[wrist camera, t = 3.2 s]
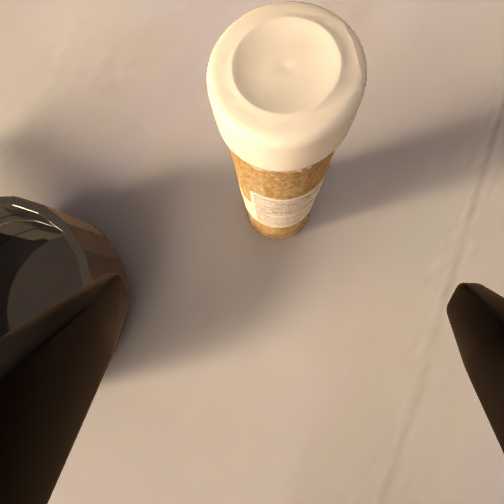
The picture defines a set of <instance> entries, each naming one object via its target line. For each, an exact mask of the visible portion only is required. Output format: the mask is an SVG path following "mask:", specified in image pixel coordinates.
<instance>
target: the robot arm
mask: <svg viewBox="0 0 504 504" xmlns="http://www.w3.org/2000/svg"><path fill="white" fill-rule="evenodd" d="M129 302H130V295H129V292H128V290H127V287H126V284H125V282H124V279H123V277H122V276H121V275H120V274H104V275H102V276H100V277H99V278H97V279H95V280H94V281H92V282H90V283H89V284H87V285H86V286H84V287H82V288H81V289H79V290H77V291H76V292H74V293H72V294H71V295H69V296H68V297H66V298H64V299H63V300H61V301H59V302H58V303H56V304H54V305H53V306H51V307H49V308H48V309H46V310H45V311H43V312H41V313H40V314H38V315H36V316H35V317H33V318H31V319H30V320H28V321H27V322H25V323H23V324H22V325H20V326H18V327H17V328H15V329H13V330H12V331H10V332H9V333H7V334H5V335H4V336H2V337H0V504H47V503H48V501H49V499H50V496H51V494H52V492H53V490H54V487H55V485H56V483H57V480H58V478H59V476H60V474H61V471H62V469H63V467H64V465H65V462H66V460H67V458H68V455H69V453H70V451H71V449H72V446H73V444H74V442H75V439H76V437H77V435H78V433H79V430H80V428H81V426H82V423H83V421H84V419H85V417H86V414H87V412H88V410H89V407H90V405H91V403H92V401H93V398H94V396H95V394H96V392H97V389H98V387H99V385H100V382H101V380H102V378H103V376H104V373H105V371H106V369H107V366H108V364H109V362H110V360H111V357H112V355H113V352H114V350H115V347H116V344H117V341H118V338H119V334H120V331H121V328H122V325H123V322H124V318H125V315H126V312H127V309H128V306H129ZM447 315H448V318H449V321H450V324H451V327H452V330H453V333H454V336H455V339H456V342H457V345H458V348H459V351H460V354H461V358H462V360H463V363H464V366H465V369H466V371H467V373H468V376H469V378H470V380H471V382H472V385H473V387H474V389H475V391H476V393H477V396H478V398H479V400H480V402H481V404H482V407H483V409H484V411H485V413H486V415H487V418H488V420H489V422H490V424H491V426H492V429H493V431H494V433H495V435H496V437H497V440H498V442H499V444H500V446H501V448H502V451H503V453H504V298H503V297H502V296H500V295H498V294H497V293H495V292H493V291H491V290H490V289H488V288H486V287H485V286H483V285H481V284H478V283H461V284H459V285H458V286H457V288H456V289H455V291H454V293H453V295H452V297H451V299H450V301H449V303H448V305H447Z"/></svg>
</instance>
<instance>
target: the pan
mask: <svg viewBox="0 0 504 504" xmlns="http://www.w3.org/2000/svg"><path fill="white" fill-rule="evenodd" d="M104 274H120V275H121V276H122V277H123V279H124V282H125V278H124V274H123V270H122V266H121V262H120V259H119V258H118V256H117V255H116V253H115V252H114V250H113V248H112V247H111V245H110V244H109V242H108V241H107V239H106V238H105V236H103V235H102V234H101V233H99V232H98V231H97V230H95V229H94V228H93V227H91V226H90V225H89V224H88V223H86V222H85V221H82V220H80V219H77V218H75V217H72V216H70V215H67V214H65V213H62V212H60V211H57V210H55V209H52V208H50V207H47V206H45V205H42V204H39V203H36V202H32V201H29V200H26V199H23V198H20V197H15V196H10V197H0V337H2V336H4V335H5V334H7V333H9V332H10V331H12V330H13V329H15V328H17V327H18V326H20V325H22V324H23V323H25V322H27V321H28V320H30V319H31V318H33V317H35V316H36V315H38V314H40V313H41V312H43V311H45V310H46V309H48V308H49V307H51V306H53V305H54V304H56V303H58V302H59V301H61V300H63V299H64V298H66V297H68V296H69V295H71V294H72V293H74V292H76V291H77V290H79V289H81V288H82V287H84V286H86V285H87V284H89V283H90V282H92V281H94V280H95V279H97V278H99V277H100V276H102V275H104ZM125 284H126V282H125ZM126 287H127V286H126ZM124 320H125V318H124ZM123 323H124V322H123ZM122 326H123V325H122Z"/></svg>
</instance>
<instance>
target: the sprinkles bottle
mask: <svg viewBox="0 0 504 504" xmlns="http://www.w3.org/2000/svg"><path fill="white" fill-rule="evenodd" d="M366 80H367V64H366V58H365V54H364V50H363V47H362V45H361V43H360V41H359V39H358V37H357V36H356V34H355V33H354V31H353V30H352V29H351V27H350V26H349V25H348V24H347V23H346V22H345V21H344V20H342V19H341V18H340V17H338V16H337V15H335V14H334V13H332V12H331V11H329V10H327V9H325V8H322V7H320V6H317V5H313V4H310V3H304V2H295V1H287V2H277V3H272V4H268V5H264V6H261V7H258V8H256V9H254V10H252V11H250V12H248V13H246V14H244V15H243V16H241V17H240V18H239V19H237V20H236V21H235V22H234V23H233V24H231V25H230V26H229V27H228V28H227V29H226V31H225V32H224V33H223V34H222V36H221V37H220V38H219V40H218V41H217V43H216V45H215V47H214V49H213V51H212V54H211V56H210V59H209V64H208V69H207V89H208V95H209V99H210V103H211V106H212V110H213V113H214V117H215V120H216V122H217V125H218V128H219V131H220V134H221V136H222V138H223V139H224V141H225V143H226V144H227V145H228V146H229V148H230V150H231V154H232V159H233V161H234V165H235V169H236V172H237V176H238V180H239V186H240V190H241V193H242V196H243V200H244V203H245V206H246V208H247V214H248V218H249V221H250V223H251V224H252V225H253V227H254V228H255V229H256V230H257V231H258V232H259V233H261V234H263V235H265V236H267V237H269V238H277V239H281V238H287V237H290V236H292V235H294V234H295V233H297V232H298V231H299V230H301V228H302V227H303V226H304V225H305V223H306V221H307V219H308V216H309V211H310V209H311V207H312V205H313V203H314V201H315V199H316V196H317V194H318V192H319V190H320V188H321V185H322V183H323V180H324V178H325V176H326V173H327V171H328V168H329V165H330V160H331V158H332V155H333V153H334V150H335V149H336V148H337V147H338V146H339V145H340V144H341V142H342V141H343V139H344V138H345V136H346V134H347V132H348V131H349V129H350V126H351V124H352V122H353V120H354V118H355V115H356V113H357V110H358V108H359V105H360V102H361V100H362V97H363V94H364V90H365V86H366Z"/></svg>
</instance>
